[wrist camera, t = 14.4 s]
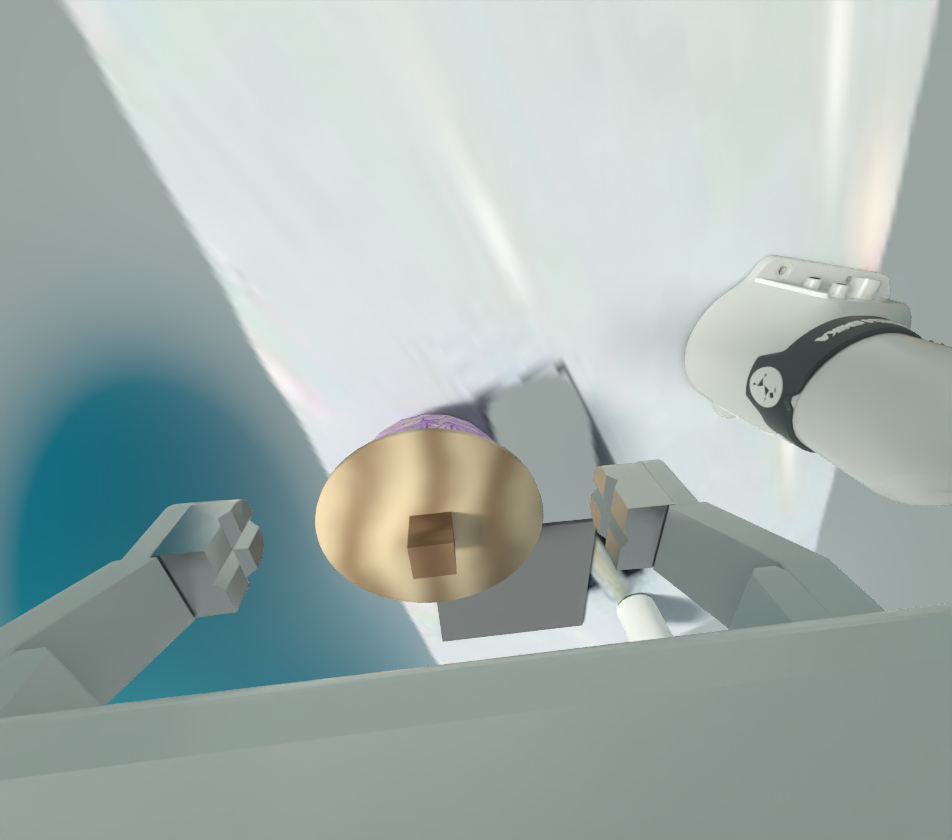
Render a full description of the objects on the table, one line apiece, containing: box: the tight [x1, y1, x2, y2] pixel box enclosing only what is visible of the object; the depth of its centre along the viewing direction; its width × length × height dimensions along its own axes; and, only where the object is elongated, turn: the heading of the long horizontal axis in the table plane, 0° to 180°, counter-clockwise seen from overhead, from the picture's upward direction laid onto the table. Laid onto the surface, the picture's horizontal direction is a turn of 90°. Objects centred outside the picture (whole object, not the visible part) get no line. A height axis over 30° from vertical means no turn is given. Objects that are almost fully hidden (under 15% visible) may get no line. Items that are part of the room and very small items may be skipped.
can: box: [617, 594, 673, 642], centre depth 63 cm, size 6×6×12 cm
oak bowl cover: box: [315, 428, 543, 603], centre depth 38 cm, size 22×22×5 cm
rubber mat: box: [437, 519, 596, 641], centre depth 62 cm, size 24×24×1 cm
